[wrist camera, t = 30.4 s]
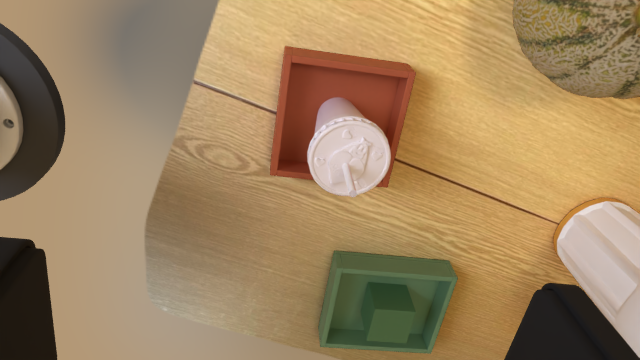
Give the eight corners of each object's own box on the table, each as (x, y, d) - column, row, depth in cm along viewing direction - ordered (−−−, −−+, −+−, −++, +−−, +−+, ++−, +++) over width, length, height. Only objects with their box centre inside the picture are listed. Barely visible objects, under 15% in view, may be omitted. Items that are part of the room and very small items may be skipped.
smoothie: (288, 123, 45) (291, 197, 33) (331, 68, 43) (351, 125, 31) (342, 159, 48) (364, 242, 35) (385, 109, 45) (424, 177, 33)
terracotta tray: (270, 161, 48) (270, 175, 45) (284, 45, 43) (285, 54, 40) (381, 173, 49) (387, 187, 46) (407, 63, 44) (416, 72, 42)
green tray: (318, 327, 58) (320, 347, 55) (334, 250, 53) (337, 267, 50) (424, 334, 60) (431, 353, 57) (449, 260, 55) (458, 277, 52)
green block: (360, 312, 57) (366, 341, 53) (368, 281, 55) (375, 309, 51) (397, 314, 57) (406, 343, 53) (406, 284, 55) (416, 312, 51)
